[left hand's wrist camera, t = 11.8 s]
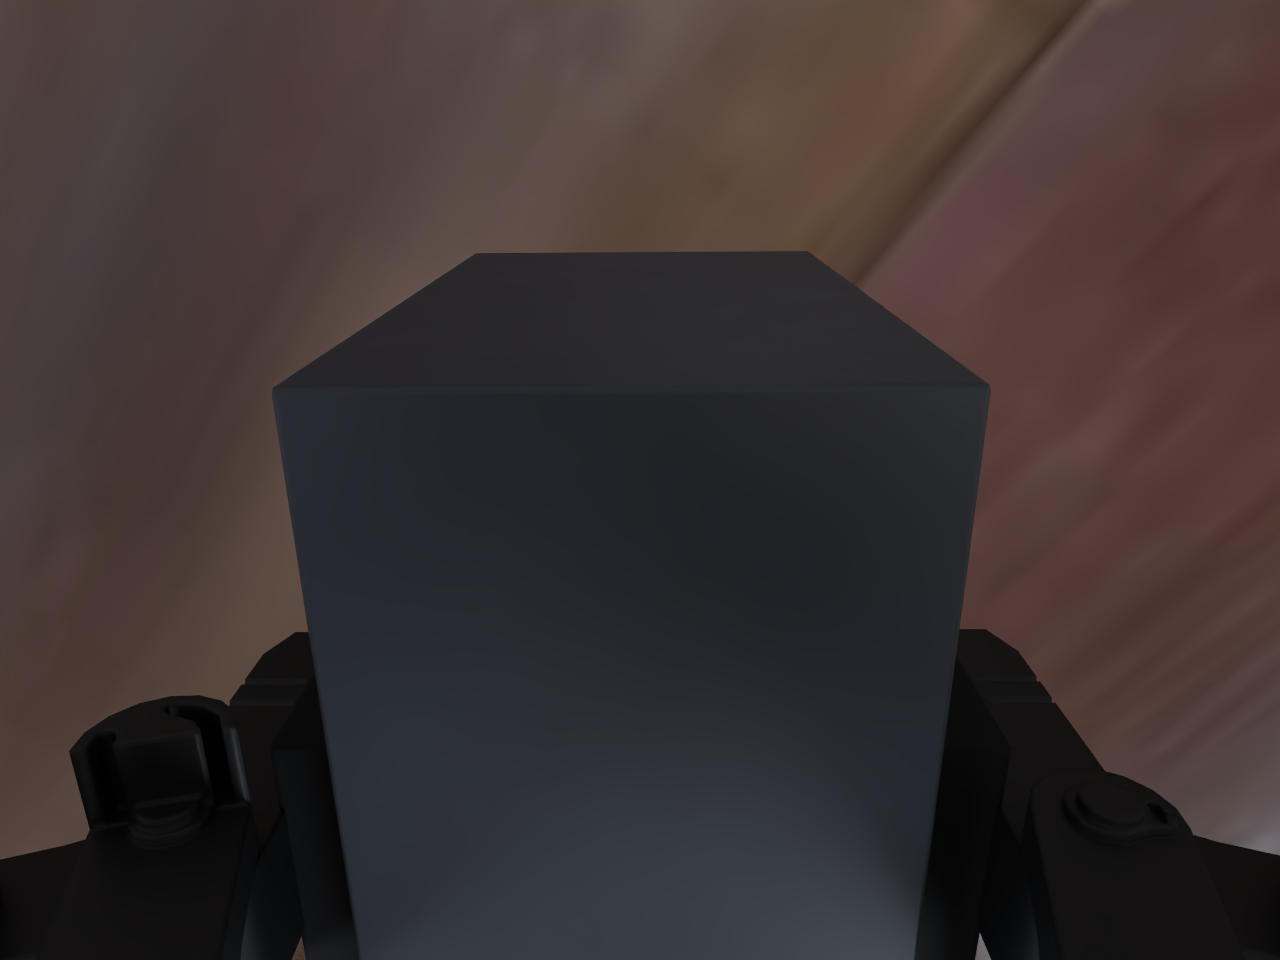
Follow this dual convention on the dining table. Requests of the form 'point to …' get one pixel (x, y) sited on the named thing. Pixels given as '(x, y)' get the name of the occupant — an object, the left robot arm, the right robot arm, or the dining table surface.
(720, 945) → the post
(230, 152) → the dining table surface
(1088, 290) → the dining table surface
